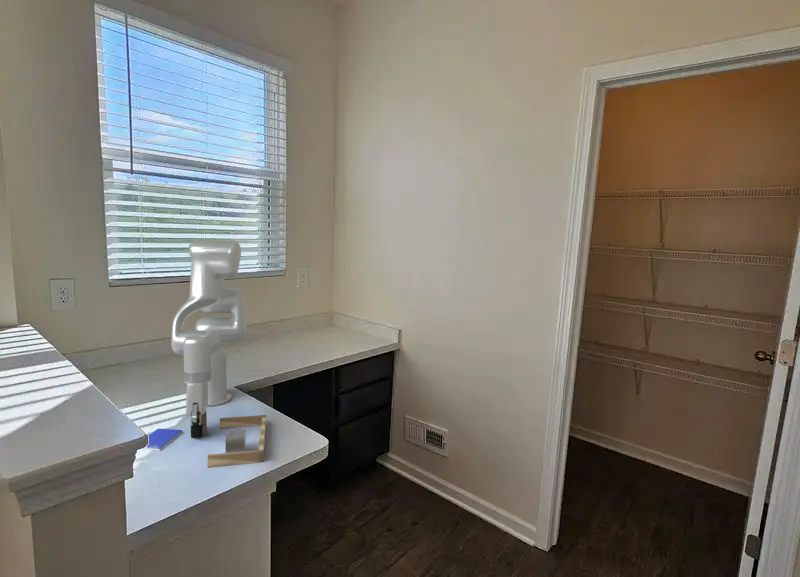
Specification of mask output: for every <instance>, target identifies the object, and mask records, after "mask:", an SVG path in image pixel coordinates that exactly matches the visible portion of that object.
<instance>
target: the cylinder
mask: <svg viewBox="0 0 800 577" xmlns="http://www.w3.org/2000/svg"><path fill="white" fill-rule="evenodd" d="M197 414H200V412H199V413H197ZM197 418H198V419H199V417H197ZM201 424H203V436H202V437H199V438H193V440H194V439H196V440H198V439H203V438H205V437H206V436H208V429H207V428H208V427H207V426H208V419H207V411H206V412H204V414H203V415H202V421H201Z"/></svg>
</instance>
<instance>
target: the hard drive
mask: <svg viewBox="0 0 800 577" xmlns="http://www.w3.org/2000/svg"><path fill="white" fill-rule="evenodd" d="M182 434H183V429H176V428H175V429H172V428H171V429H170V428H157V429H156V430H154V431H153V432H151V433H150V434H148V435H147V436H149V445H148V446H147V448H145V449H147V450H148V449H149V450H157V451H156V452H161V451H162V450H163V449H164V448H165V447H167V446H169V444H171V443H172V442H173V441H174V440H175V439H176V438H178V437H179V436H180V435H182ZM145 449H143V450H142V451H144V450H145ZM161 449H162V450H161Z"/></svg>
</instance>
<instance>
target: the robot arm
mask: <svg viewBox="0 0 800 577" xmlns="http://www.w3.org/2000/svg"><path fill="white" fill-rule="evenodd" d="M188 253H189V256H190V259H191V263H190V264H191V265H190V279H189V280H190V281H189V282H190V283H189V296H188V300H187V301H186V302H184V304H182V306H181V307H179V309H178V310H177V312H176V314H175V316H174V317H173V320H172V323H171V324H172V326H171V328H172V329H171V337H170V338H171V342H170V343H171V350H172V352H173V353H174V354H176V355H183V383H184V384H187V385H186V396H185V398H186V399H185V400H186V402H185V416H186V417H189V416H190V438H191V439H194V438H199V437H202V436H203V424H201V421H202V415H203V414H204V412H206V413H207V408H208V407H211V406H220V405H224V404H226V403H228V402H229V401H231V399H232V395H231V393H230V392H228V391H227V390H228V388H227V387H228V386H227V383H228V382H227V381H228V380H227V353H226V351H225V349H224V348H223V346H222V343H238V342H243V341H244V339H245V338H246V334H247V318H246V317H247V312H246V311H247V309H246V308H247V307H246V306H247V303H246V301H247V300H246V294H245V292H244V290H243V289H241V288H239V287H225V279H235V278H236V277H237V276H238V273H239V269H240V262H241V258H242V248H241V245H240V243H239V242H237V241H236V240H227V239H226V240H222V239H221V240H220V239H219V240H218V239H197V240H193V241H191V242H190V243H189V244H188ZM199 310H201V311H202V312H203V313H206V314H231V315H232V316H208V317H206V316H205V317H203V318H200V319H198V320H197V322H196V323H195V327H194V330H183V328H184V324H185V322H186V320H187V318H188V317H189V316H191V315H192V314H194V313H195V312H197V311H199ZM199 412H200V414H197V413H199ZM197 417H199V419H198V418H197ZM199 439H200V438H199Z"/></svg>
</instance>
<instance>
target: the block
mask: <svg viewBox="0 0 800 577" xmlns="http://www.w3.org/2000/svg"><path fill="white" fill-rule="evenodd" d="M246 436H247V434H246V428H237V429H236V428H235V429H227V430H226V433H225V440H224V441H225V443H224V444H225V453H232V452H243V451H246V450H245V449H246V448H247V447H246V446H247V443H246V442H247V441H246V440H247V439H246Z"/></svg>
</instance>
